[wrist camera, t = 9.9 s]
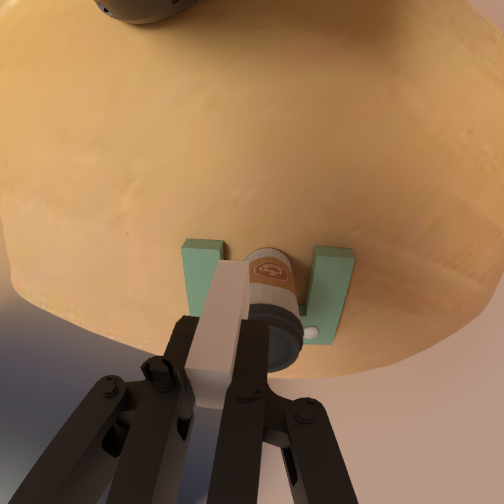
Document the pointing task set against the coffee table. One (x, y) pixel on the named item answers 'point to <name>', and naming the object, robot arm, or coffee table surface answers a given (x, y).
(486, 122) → the coffee table surface
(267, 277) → the coffee cup
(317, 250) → the mint green u-shaped piece
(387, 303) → the coffee table surface
